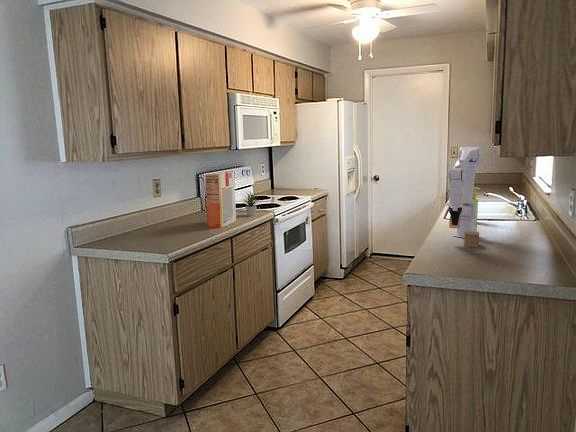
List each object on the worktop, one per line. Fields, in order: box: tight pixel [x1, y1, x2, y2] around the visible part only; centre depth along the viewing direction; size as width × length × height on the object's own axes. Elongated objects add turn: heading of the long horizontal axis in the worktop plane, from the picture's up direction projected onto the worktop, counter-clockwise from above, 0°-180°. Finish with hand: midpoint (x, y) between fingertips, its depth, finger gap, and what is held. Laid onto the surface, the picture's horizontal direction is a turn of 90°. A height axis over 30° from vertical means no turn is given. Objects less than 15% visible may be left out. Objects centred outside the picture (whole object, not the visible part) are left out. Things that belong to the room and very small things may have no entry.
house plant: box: [242, 191, 263, 217], centre depth 310 cm, size 14×14×16 cm
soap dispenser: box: [468, 186, 481, 223], centre depth 272 cm, size 6×7×20 cm
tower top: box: [463, 231, 480, 241], centre depth 219 cm, size 6×6×3 cm
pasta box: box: [204, 170, 237, 229], centre depth 282 cm, size 23×8×30 cm, turn 164°
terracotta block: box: [448, 215, 460, 229], centre depth 221 cm, size 4×4×5 cm
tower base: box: [463, 238, 480, 248], centre depth 220 cm, size 6×6×3 cm
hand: (454, 224), depth 221 cm, fingers closed on terracotta block, 4 cm apart
